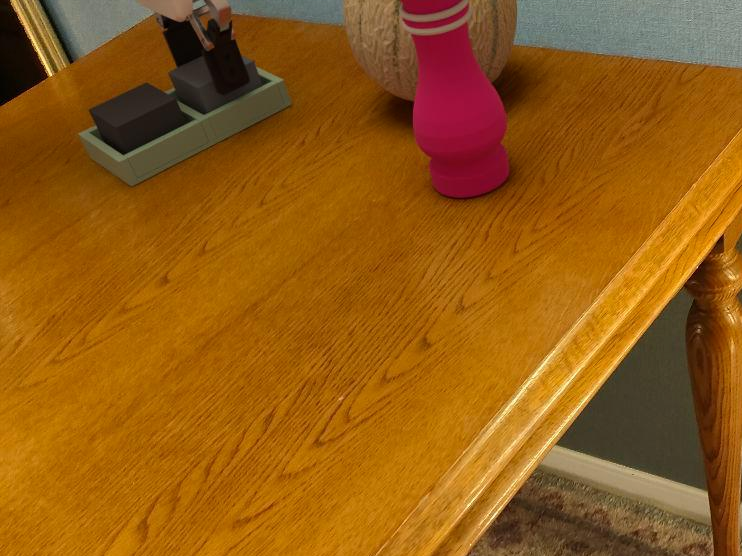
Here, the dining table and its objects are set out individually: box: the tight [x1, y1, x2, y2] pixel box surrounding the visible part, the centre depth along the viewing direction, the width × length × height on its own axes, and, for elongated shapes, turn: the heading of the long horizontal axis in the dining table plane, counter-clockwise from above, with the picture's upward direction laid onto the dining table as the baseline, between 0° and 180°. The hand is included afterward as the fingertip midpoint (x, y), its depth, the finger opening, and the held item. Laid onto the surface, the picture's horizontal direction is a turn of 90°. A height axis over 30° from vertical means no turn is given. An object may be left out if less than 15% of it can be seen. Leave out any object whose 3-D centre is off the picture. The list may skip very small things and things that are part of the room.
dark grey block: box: [88, 82, 187, 156], centre depth 90 cm, size 6×6×4 cm
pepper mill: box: [399, 0, 511, 199], centre depth 73 cm, size 7×7×20 cm
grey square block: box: [167, 54, 263, 115], centre depth 93 cm, size 6×6×4 cm
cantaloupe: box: [342, 0, 518, 103], centre depth 85 cm, size 15×15×15 cm
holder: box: [77, 66, 293, 188], centre depth 93 cm, size 17×9×2 cm, turn 132°
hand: (214, 77), depth 93 cm, fingers open, 6 cm apart
